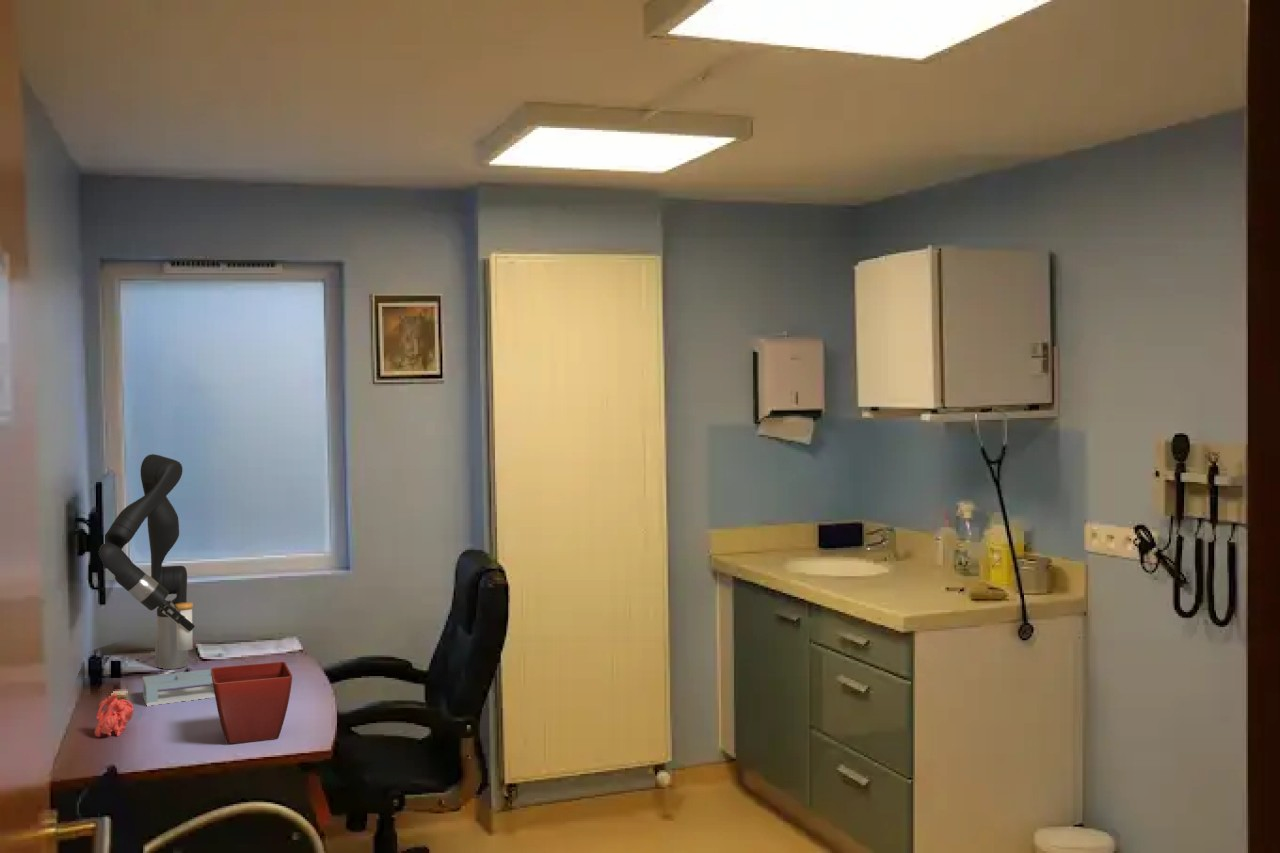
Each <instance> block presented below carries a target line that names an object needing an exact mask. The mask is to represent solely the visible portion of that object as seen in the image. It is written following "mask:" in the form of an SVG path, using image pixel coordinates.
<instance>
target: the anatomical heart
mask: <svg viewBox="0 0 1280 853" xmlns="http://www.w3.org/2000/svg"><path fill="white" fill-rule="evenodd" d="M116 694H117V693H115V692H113V694H112V696H111V695H108V697H107V698H106V697H105V698H104V700H102V701H101V702H100V703H99V704H98V706H99V708H98V711H97V712H96V720H98V721H97V724H96V726H95V729H94V734H95V737H98V738H101V735H102V734H104V735H105V734H106V735H108V736H111V735H112V733H111V732H114V734H115V735H116V737H119V736H120V735H121V734H122V733H123V732H124V731H125V730H126V729H127V723H128V722H130V721H131V720H132V717H133V715H134V705H133V703H132V702H131V701H130V700H127V699H125V698H123V699H122V698H121V699H118V695H116ZM104 706H107V707H106V709H105V710H103V708H104Z"/></svg>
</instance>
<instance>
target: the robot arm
mask: <svg viewBox="0 0 1280 853" xmlns="http://www.w3.org/2000/svg"><path fill="white" fill-rule="evenodd" d="M182 474H183V466H182V463H181V462H180V461H178V460H176V459H172V458H170V457H166V456H163V455H160V454H159V455H158V454H153V453H151V454H147V455H146V456H145V457H144V458H143V460H142V462H141V464H140V480H141V484H142V490H143V494H144V495H143V496H142V497H140V498H139V499H137V500H135V501H133V502H132V503H130V504H129V505H127V506H126V507H125V508H124V509H122V510H121V511H120V513H119V514H118V515H117V516H116V518H115V519H114V521H113V522H112V524H111V525H110V527H109V528H108V530H107V532H106V533H105V534H104V535H105V544H102V545H101V546H100V548H99V551H98V552H99V553H98V554H99V557H100V559H101V561H102V564H103V568H104V569H103V570H106V569H107V570H108V571H109V572H110V573H111V574H112V575H114V581H116V583H118V585H120V586H121V587H122V588H124V589H125V590H126V591H127V592H128V593H129V594H130V595H131V596H132V597H133V598H134V599H135V600H136V601H138V602H139V603H140V604H142V605H143V606H144V607H145V608H147V610H149V611H154V610H156V619H157V622H156V625H157V626H156V628H157V637H156V638H154V656H155V657H154V658H155V659H154V662H155V663H154V664H155V666H156V667H160V668H163V669H162V670H175V669H176V670H177V669H180V668H186V667H188V666H189V650H184V651H180V650H177V623H178V624H181V625H182V626H183V627H185V628H186V629H187V630H188V631H191V630H192V629H194V628H195V626H196V625H195V624H193V623H194V622H192V623H191V622H190V621H189V620H187V619H186V618H185V616H183V615H182V614H181V611H180V610H179V609H178V608H176V606H175V604H176V603H182V602H188V601H187V600H188V599H187V593H188V588H187V587H188V571H187V568H186V566H184V565H166V566H164V565H163V563H164V561H165V559H166V556H167V555H168V554H169V552H170V551H171V549H172V548H173V547H174V546H175V544H176V542H177V540H178V539H179V537H180V523H179V522H180V521H179V516H178V513H177V512H176V510H175V507H174V506H173V505H172V503H171V501H170V500H169V498H168V497H167V496H168V494H170V493H171V492H172V491H173V489H174V488H175V487H176V486H177V484H178V483H179V481H180V480H181V477H182ZM146 519H147V533H148V542H149V549H150V550H149V551H150V575H148V574H147V573H146V572H144V571H143V570H142V569H141V568H139V567H138V566H137V565H135V563H133V561H132V560H131V559H130V557H129V556H128V555H127V554H126V552H124V550H122V549H123V548H124V547H125V545H127V544H128V543H129V542H130V541H132V539H133V537H134V536H135V535H136V534H137V532H138V530H139V529H140V527H141V526H142V524H143V523H144V521H145V520H146ZM90 559H91V556H90V555H89V560H90ZM169 595H176V597H175V598H173V599H172V600H166V599H167V597H168V596H169ZM176 610H177V611H176ZM178 615H180V616H181V617H180V618H179V619H178V620H177V616H178ZM156 667H155V668H156ZM160 668H159V669H160Z"/></svg>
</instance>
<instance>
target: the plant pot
mask: <svg viewBox="0 0 1280 853" xmlns="http://www.w3.org/2000/svg"><path fill="white" fill-rule="evenodd" d="M210 669H211V675H212V682H213V688H214V694H215V698H214V699H215V702H216V703H215V704H216V708H217V713H218V718H219V722H220V727H221V729H222V732H223V736H224V738H225V742H226V743H227V744H237V743H246V742H247V743H249V742H256V741H257V742H258V741H259V742H260V741H266V740H267V741H268V740H276V739H278V738H279V737H280V735H281V732H282V728H283V726H284V722H285V719H286V714H287V710H288V706H289V702H290V696H291V691H292V682H293V675H292V673H291V672H292V671H291V670H290V668H289V666H288V665H287V662H285V661H277V662H265V663H264V662H263V663H254V664H243V665H242V664H240V665H229V666H220V667H211V668H210Z"/></svg>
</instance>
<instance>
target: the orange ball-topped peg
mask: <svg viewBox="0 0 1280 853" xmlns="http://www.w3.org/2000/svg"><path fill="white" fill-rule="evenodd" d="M175 606H176V608H178V609H179V610H180V611H181V614H182V615H183V616H185V618H186V619H187V620H189V621H190V622H191V623H193V609H194V603H193V601H192V602H191V601H187V602H182V603H176V604H175ZM176 611H177V610H176ZM180 617H181V616H180V615H178V616H177V620H178V619H179V618H180ZM193 629H194V628H193ZM193 629H192V630H191V631H188V630H187V629H186V628H185V627H183V626H182V625H181V624H178V623H177V650H180V651H184V650H188V651H190V650H193V649H194V638H193V637H194V636H193V634H194V633H193Z"/></svg>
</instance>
